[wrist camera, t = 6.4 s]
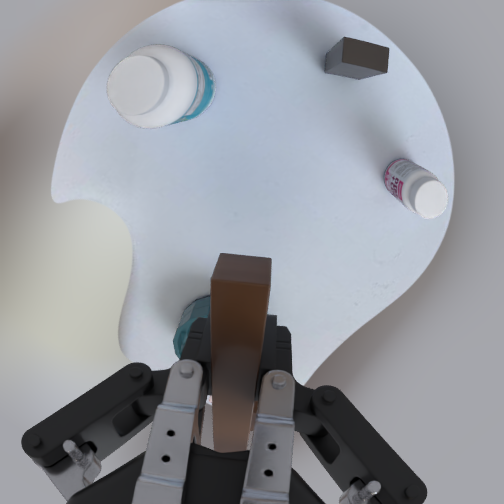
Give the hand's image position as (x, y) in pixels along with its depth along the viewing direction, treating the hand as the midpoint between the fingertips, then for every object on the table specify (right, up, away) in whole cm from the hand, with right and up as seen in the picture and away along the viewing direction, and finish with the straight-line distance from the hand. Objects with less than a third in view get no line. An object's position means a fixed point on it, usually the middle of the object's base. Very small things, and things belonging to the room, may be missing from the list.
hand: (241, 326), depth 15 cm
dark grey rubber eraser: (+10, +24, +13) cm, 29 cm away
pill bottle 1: (-7, +22, +15) cm, 27 cm away
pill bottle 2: (+18, +13, +18) cm, 29 cm away
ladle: (0, -3, +9) cm, 10 cm away
